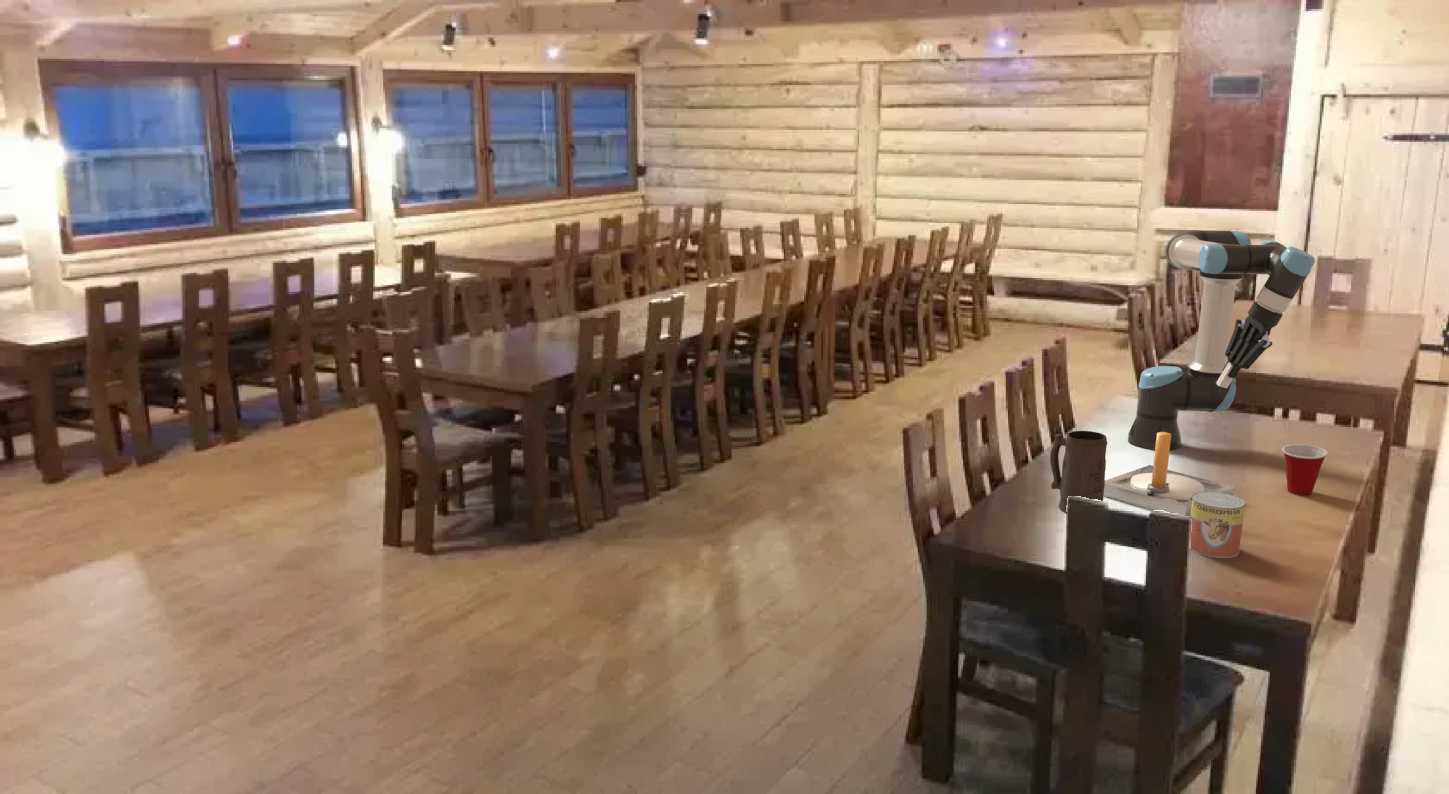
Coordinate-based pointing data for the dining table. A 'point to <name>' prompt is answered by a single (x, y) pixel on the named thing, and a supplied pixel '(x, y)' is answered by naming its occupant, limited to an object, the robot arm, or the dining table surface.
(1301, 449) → the plastic cup
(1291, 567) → the dining table surface
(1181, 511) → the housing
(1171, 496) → the dial
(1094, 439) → the beer stein
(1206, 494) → the canned food
